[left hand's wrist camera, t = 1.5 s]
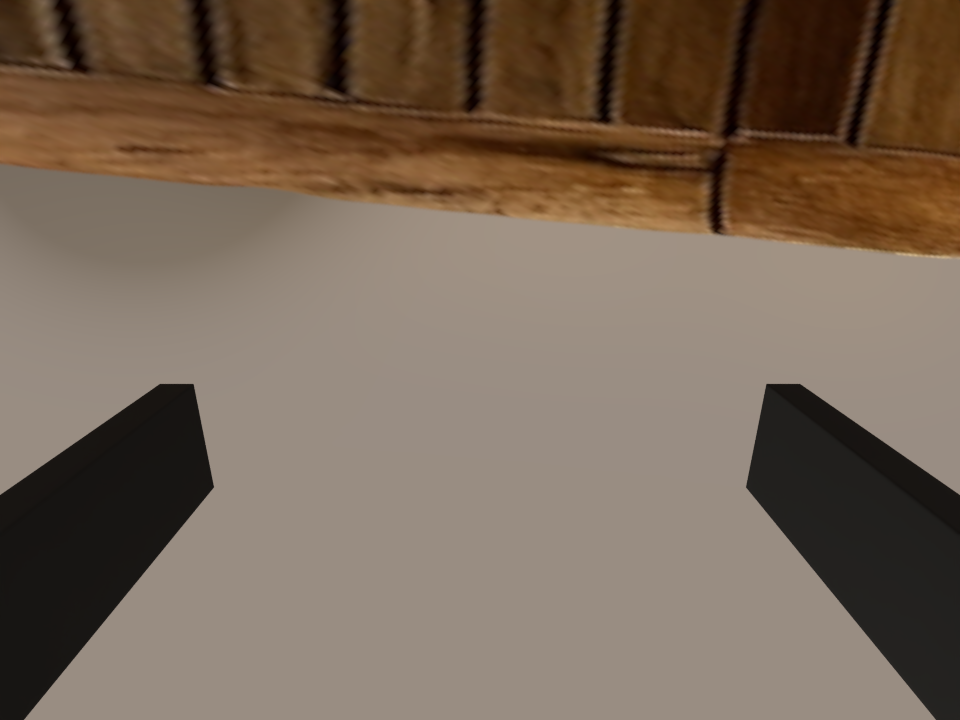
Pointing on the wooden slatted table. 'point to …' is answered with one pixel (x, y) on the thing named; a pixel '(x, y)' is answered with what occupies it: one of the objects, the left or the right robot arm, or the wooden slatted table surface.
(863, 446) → the left robot arm
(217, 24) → the wooden slatted table surface
